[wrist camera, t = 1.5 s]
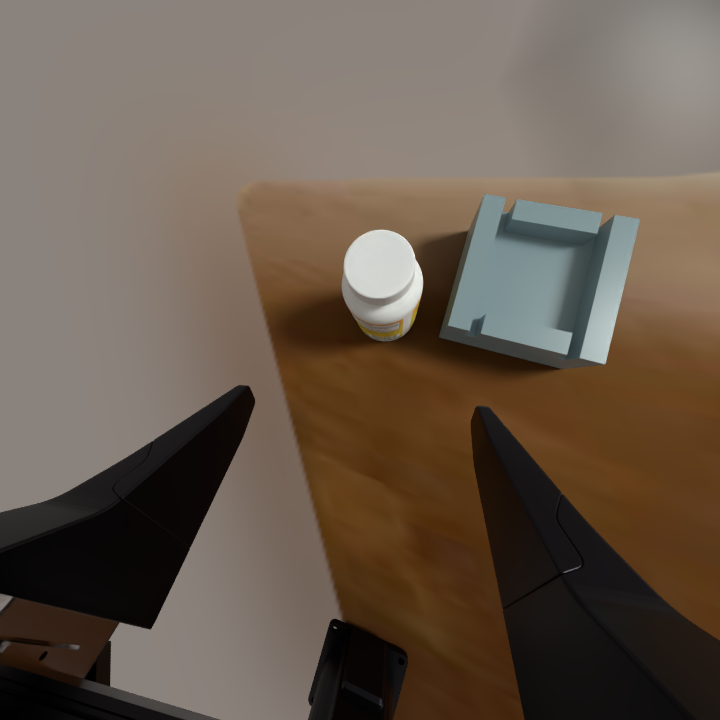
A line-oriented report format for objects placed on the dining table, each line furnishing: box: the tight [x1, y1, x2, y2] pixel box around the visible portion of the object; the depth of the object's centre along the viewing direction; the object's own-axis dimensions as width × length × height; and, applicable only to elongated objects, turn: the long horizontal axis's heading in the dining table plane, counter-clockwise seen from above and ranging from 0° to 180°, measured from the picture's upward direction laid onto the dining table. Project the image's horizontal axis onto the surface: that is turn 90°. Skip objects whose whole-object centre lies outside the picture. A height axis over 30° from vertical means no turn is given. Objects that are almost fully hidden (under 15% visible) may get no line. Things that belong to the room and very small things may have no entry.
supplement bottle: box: [342, 230, 423, 341], centre depth 19 cm, size 5×5×10 cm
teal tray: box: [439, 194, 640, 369], centre depth 20 cm, size 10×10×4 cm
